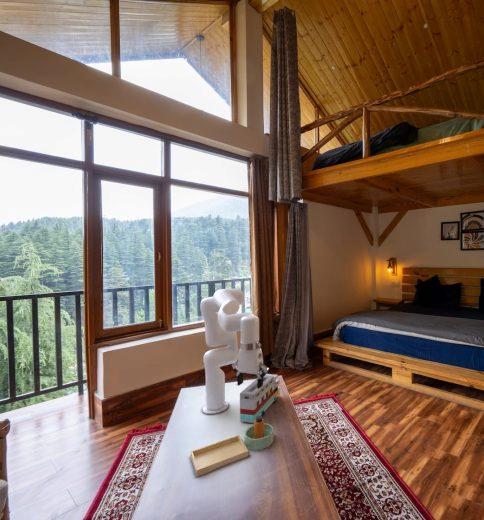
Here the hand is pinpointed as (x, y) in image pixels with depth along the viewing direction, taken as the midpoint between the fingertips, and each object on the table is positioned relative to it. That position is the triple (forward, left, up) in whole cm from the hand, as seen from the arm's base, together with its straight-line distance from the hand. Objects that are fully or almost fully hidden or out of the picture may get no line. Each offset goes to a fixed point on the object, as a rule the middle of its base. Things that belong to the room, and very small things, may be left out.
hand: (250, 385), depth 126 cm
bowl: (-2, +4, -27) cm, 27 cm away
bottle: (-2, +4, -26) cm, 27 cm away
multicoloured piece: (-29, +15, -27) cm, 42 cm away
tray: (-2, -12, -27) cm, 29 cm away
